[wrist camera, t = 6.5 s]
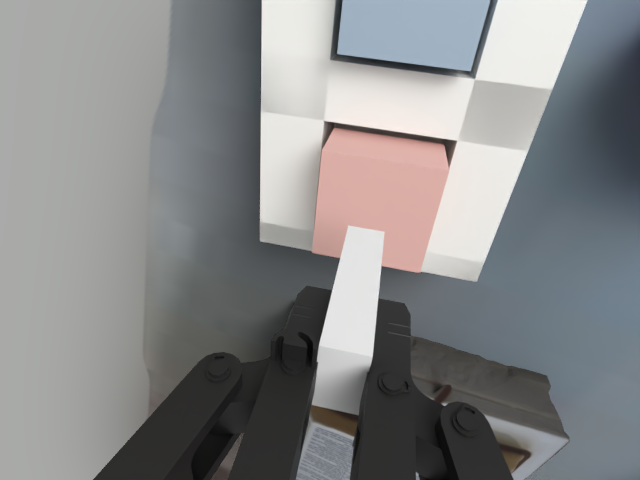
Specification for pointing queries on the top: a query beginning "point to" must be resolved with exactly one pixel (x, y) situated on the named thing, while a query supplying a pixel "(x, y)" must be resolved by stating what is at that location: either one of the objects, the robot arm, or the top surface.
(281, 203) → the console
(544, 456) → the bible
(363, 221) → the key rose
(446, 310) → the top surface
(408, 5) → the key slate
